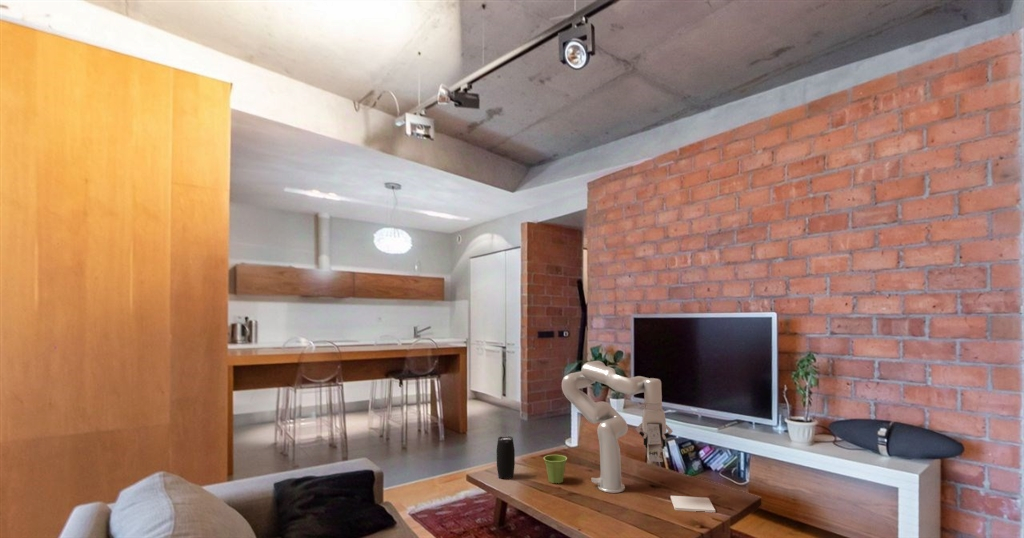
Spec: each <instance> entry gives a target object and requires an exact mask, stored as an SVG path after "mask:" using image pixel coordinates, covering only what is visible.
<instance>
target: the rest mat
mask: <svg viewBox="0 0 1024 538" xmlns="http://www.w3.org/2000/svg"><path fill="white" fill-rule="evenodd" d="M670 500H671V502H672V505H673V508H674V509H673V510H675V511H683V512H696V511H705V512H704V513H712V512H715V513H716V509H715V507H714V505H713V504H712V502H711V500H710V498H709V497H704V496H703V497H700V496H698V497H697V496H686V495H683V496H682V495H670Z"/></svg>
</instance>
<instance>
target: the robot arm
mask: <svg viewBox="0 0 1024 538" xmlns="http://www.w3.org/2000/svg"><path fill="white" fill-rule="evenodd" d="M595 382H597V383H599V384H600V383H601V384H602V385H603V384H604V385H606V386H608V387H609V388H611V390H612V391H613V390H614V391H616V392H618V393H622V394H625V395H629V396H633V395H637V394H638V395H639V394H642V393H644V394H643V396H644V402H643V403H641V407H643V410H642V415H641V416H642V418H641V419H642V420H641V423H640V424H639V425H638V426H636V427H635V430H636V432H637V433H638V434H639V435H640V436H641V437H642V438H643V446H644V447H645V449H647V437H646V436H647V423H662V440H663V450H664V449H665V447H666V439H667V438H668V437H669V436H671V434H672V433H673V429H672V428H671V427H670V426H669V425H667V423H666V421H667V420H666V413H665V410H664V409H663V401H662V399H663V395H662V381H661V379H660V378H654V377H650V378H649V377H645V376H641V375H637V376H632V377H626V376H623V375H619V374H616V369H615V368H613V367H610V366H606V364H605V363H604V362H603V361H601V360H594V361H593V360H591V361H588V362H585V363H584V364H583V365H582V366H581V371H576V372H571V373H568V374H566V375H564V376H563V378H562V380H561V390H562V394H564V396H565V397H566V399H567V401H569V402H570V403H571V404H572V405H573V406H574V408H576V409H577V410H578V412H580V413H581V415H582V416H583V417H584V418H585V419H586V420H587V421H588V422H589V423H591V424H598V423H599V424H598V426H597V431H596V432H597V433H596V434H597V437H598V438H597V439H598V443H599V458H600V460H599V461H600V475H599V477H591V482H592V483H593V484H595V485H596V484H597V488H598V490H599V491H602V492H605V493H610V494H618V493H622V492H624V491H625V489H626V487H625V484H624V483H622V465H621V449H620V444H619V441H618V439H619V438H621V437H624V436H625V435H627V432H628V429H629V427H628V424H627V423H628V422H627V421H626V420H625V418H624V417H623V416H622V415H621V414H620V413H619V412H618V411H617V410H616V409H615V408H614V407H613V406H612V405H611V404H610V403H608V402H606V401H602V400H601V401H596V402H595V401H594V400H593V399H592V398H591V397H590V396H589V395H588V394H586V392H584V391H582V390H581V389H584V388H588V387H589V386H591V385H593V384H594V383H595ZM641 429H642V430H641Z"/></svg>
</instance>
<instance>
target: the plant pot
mask: <svg viewBox="0 0 1024 538" xmlns="http://www.w3.org/2000/svg"><path fill="white" fill-rule="evenodd" d="M543 460H544V464H545V467H546V473H547V478H548V482H549V483H550V484H557V483H558V484H562V483H563V482H564V478H565V477H564V476H565V467H566V462H567V460H568V457H567V456H566V455H562V454H548V455H545V456H543Z"/></svg>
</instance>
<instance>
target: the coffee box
mask: <svg viewBox="0 0 1024 538" xmlns="http://www.w3.org/2000/svg"><path fill="white" fill-rule="evenodd" d="M646 437H647V448H646V456H647V459H648V462H656V463H657V462H661V463H663V462H664V449H663V440H662V423H647V436H646Z"/></svg>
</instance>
